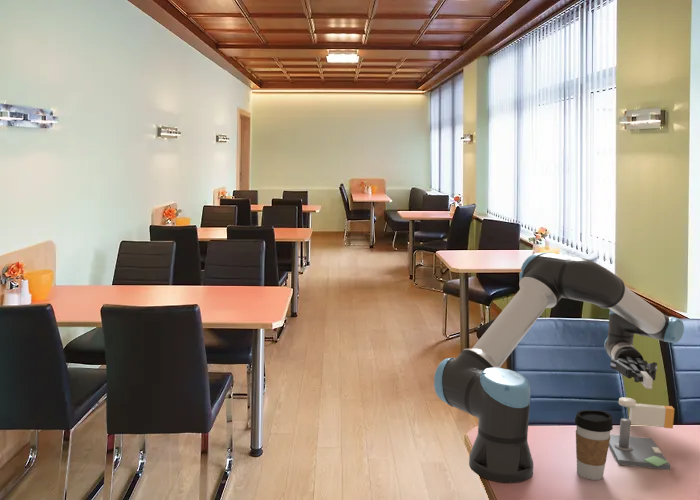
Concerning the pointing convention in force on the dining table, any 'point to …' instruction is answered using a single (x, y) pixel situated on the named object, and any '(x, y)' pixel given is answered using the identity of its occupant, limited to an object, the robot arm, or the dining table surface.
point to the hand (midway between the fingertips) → (649, 383)
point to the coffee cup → (592, 442)
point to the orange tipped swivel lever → (643, 418)
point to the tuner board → (638, 453)
